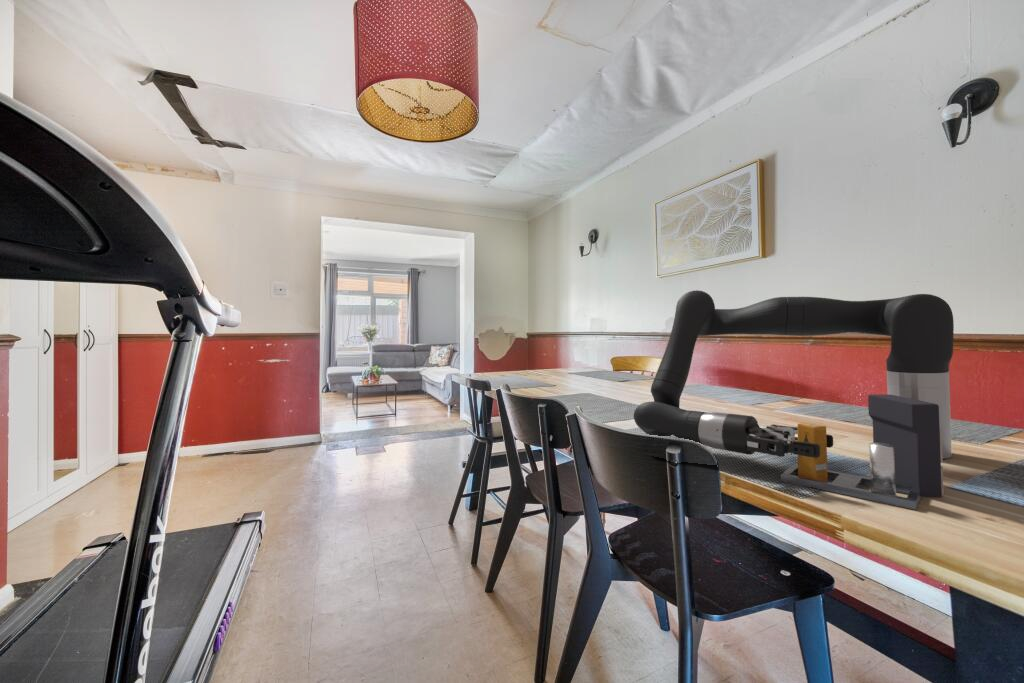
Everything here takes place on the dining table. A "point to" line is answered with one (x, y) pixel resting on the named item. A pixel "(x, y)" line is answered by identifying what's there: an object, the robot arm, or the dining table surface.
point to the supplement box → (811, 465)
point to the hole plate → (855, 487)
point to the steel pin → (882, 468)
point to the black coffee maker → (910, 439)
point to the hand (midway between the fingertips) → (826, 446)
